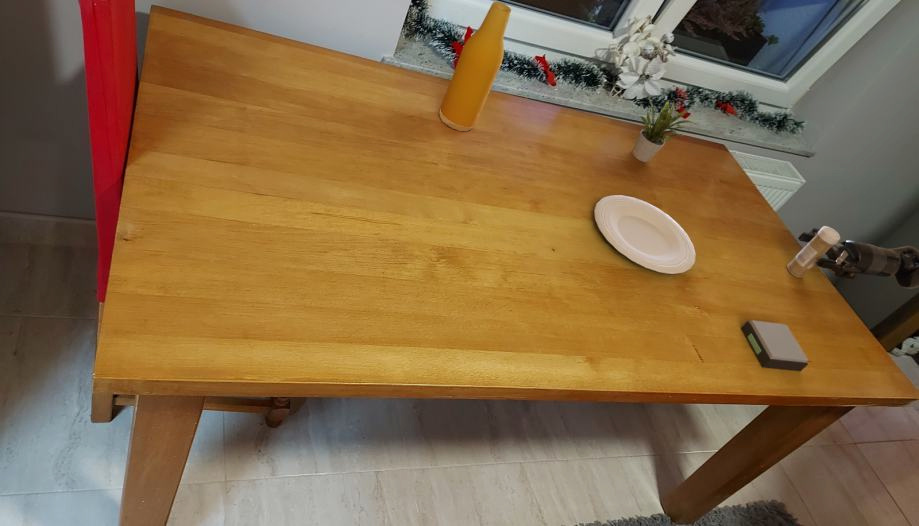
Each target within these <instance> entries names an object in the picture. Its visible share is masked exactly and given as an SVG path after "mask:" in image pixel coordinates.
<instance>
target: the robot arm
mask: <svg viewBox="0 0 919 526" xmlns="http://www.w3.org/2000/svg"><path fill="white" fill-rule="evenodd" d="M820 229H821V228H816V227H813V228H812V229H811V230H810V231H809V232H806V231H802V233H801V234H800V235H799V236H798V238H797V239H798V241H799V242H804V243H807V244H808V243H809V242H810V241H811V240H812V239H813V238H814V237H815V236H816V235H817V233H818V231H819V230H820ZM824 255H826V257H821V258H820V260H819V261H818V262H817V263H816V264H815V265H816V266H817V267H818V268H822V269H827V270H829V271H830V272H834V276H835V277H837V278H840V279H841V278H842V279H850V280H854V279H855V278H856V277H857V276H858V275H864V276H875V277H881V278H891V277H893V276H894V279H895V281H896V283H897V285H898V286H899V287H901V288H903V289H906V290H907V289H909V290H911V289H912V290H913V289H916V288H919V250H918V249H917V248H915V247H914V246H911V245H904V246H899V247H894V248H885V247H881V246H877V245H874V244H870V243H865V242H861V241H855V240H844V241H841V242H839V241H838V242H837V243H836V244H834V245H833V246H832V247H831V248H830V249H829V250H828V251H827V252H826V253H825V254H824Z"/></svg>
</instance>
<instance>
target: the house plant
mask: <svg viewBox="0 0 919 526" xmlns="http://www.w3.org/2000/svg"><path fill="white" fill-rule="evenodd" d="M647 98H648V100H649V103H650V107H651V108H650V111H651V117H650V113H649V112H648V111H646V117H644V116H642V115H639V117H640V119H641V120H642V122H643V124H642V126H645V128H642V129H640V132H639V134H638V136H637V139H636V141H635V144H634V146H633V148H634V150H635V152H636V153H637V154H638V155H639V156H638V155H637V154H636V153H635V152H634V150H633V149H632V151H631V154H632V156H634V158H635V159H636V160H638V161H641V162H642V163H643V162H644V163H649V162H650V161H651V160H652V159H653V157H655V156H656V155H657V154H658V152H659V151H660V150H661V149H662V148H663V147H664V146H665V145H666V142H667V141H669V140H671V137H676V136H679V138H681V136H682V137H685V138H686V136H685V135H683V134H681V133H678V132H677V131H675V130H677V129H680V130H682V129H688V130H690V128H689V127H687V126H683V125H682V126H681V125H680V124H686V123H691V124H695V125H697V123H696V122H694V121H692V120H687V119H686V120H680V121H677V120H679V119H680V118H681V117H683V116H685V114H686V113H688V112H689V110H683V111H680V112H678V113H677V114H675V115H674V116H673V115H672V114H673V113H674V107H675V101H673V102H672V104H671V107H670V101H669V99H667V101H666V102H665V104H664V106H663V108H662V110H661V111H660V113H659V114H658V117H657V118H656V120H655V106H654V103H653V101H652V99H651V98H650V97H649V96H647ZM674 126H677V127H674ZM672 127H673V128H672ZM670 128H672V129H670ZM667 134H669V135H667ZM641 157H642V158H641Z"/></svg>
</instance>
